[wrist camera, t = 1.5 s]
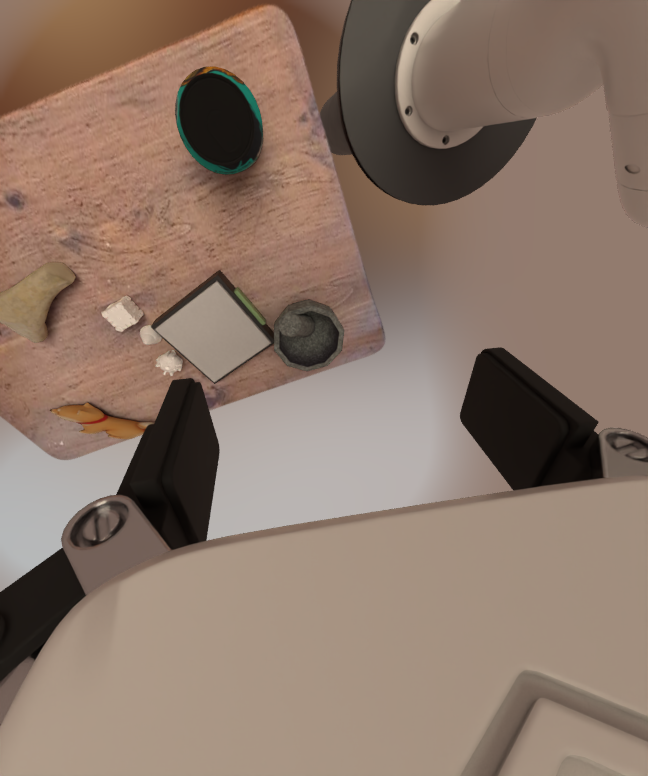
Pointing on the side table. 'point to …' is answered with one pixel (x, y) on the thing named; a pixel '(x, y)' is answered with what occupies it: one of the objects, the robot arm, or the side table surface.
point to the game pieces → (129, 314)
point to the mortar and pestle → (308, 335)
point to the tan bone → (34, 300)
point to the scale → (215, 328)
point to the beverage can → (219, 120)
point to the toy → (100, 421)
